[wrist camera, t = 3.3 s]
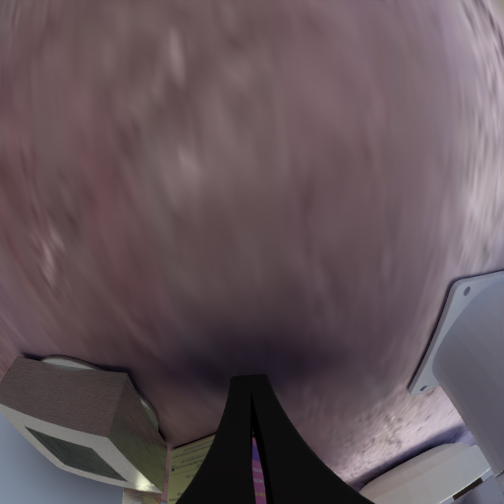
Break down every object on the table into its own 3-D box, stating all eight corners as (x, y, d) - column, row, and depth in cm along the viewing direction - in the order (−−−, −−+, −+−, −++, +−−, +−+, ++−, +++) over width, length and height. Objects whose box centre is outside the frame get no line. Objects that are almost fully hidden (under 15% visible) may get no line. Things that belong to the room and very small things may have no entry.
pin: (157, 464, 15) (150, 538, 9) (167, 476, 16) (163, 542, 10) (123, 459, 15) (111, 529, 9) (135, 472, 16) (127, 535, 10)
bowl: (461, 441, 25) (480, 476, 17) (356, 499, 28) (367, 536, 20) (471, 402, 18) (505, 456, 10) (310, 490, 21) (323, 549, 13)
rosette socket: (133, 362, 10) (111, 434, 7) (173, 444, 14) (169, 495, 10) (15, 347, 10) (-16, 393, 6) (72, 427, 13) (58, 468, 10)
